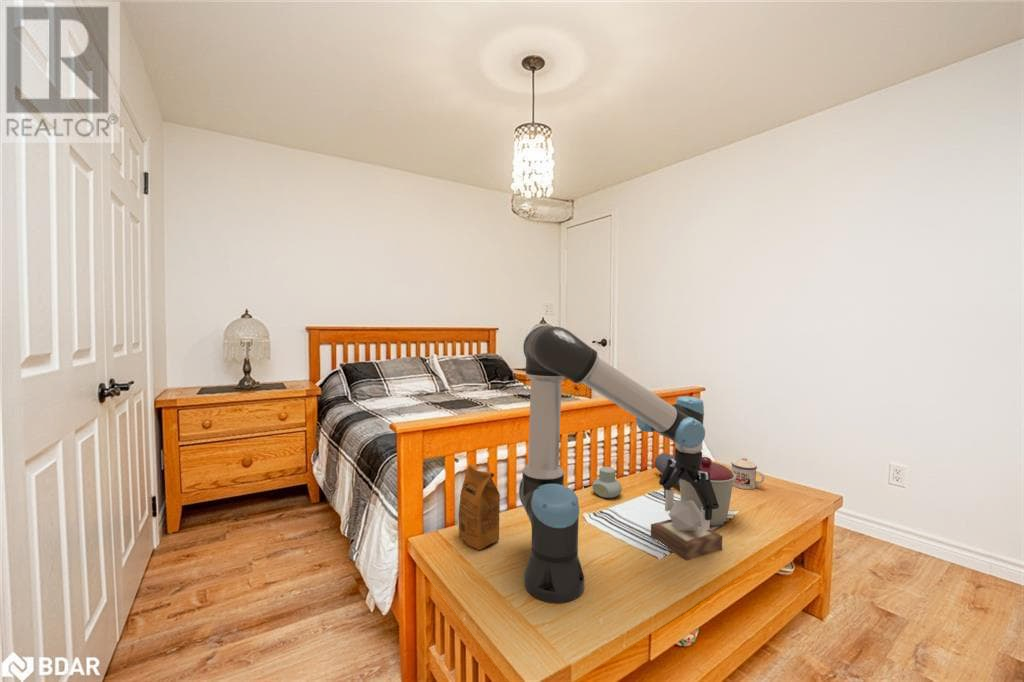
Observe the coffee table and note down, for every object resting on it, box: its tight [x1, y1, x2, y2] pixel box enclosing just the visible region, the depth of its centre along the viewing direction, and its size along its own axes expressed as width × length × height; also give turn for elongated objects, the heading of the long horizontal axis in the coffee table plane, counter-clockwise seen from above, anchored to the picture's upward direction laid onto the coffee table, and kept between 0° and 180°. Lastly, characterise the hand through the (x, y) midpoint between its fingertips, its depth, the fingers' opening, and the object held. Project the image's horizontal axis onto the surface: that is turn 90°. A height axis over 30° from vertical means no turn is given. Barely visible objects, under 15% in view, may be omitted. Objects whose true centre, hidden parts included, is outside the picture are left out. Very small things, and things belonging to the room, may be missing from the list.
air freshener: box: [591, 466, 623, 499], centre depth 162 cm, size 11×8×10 cm
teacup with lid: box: [730, 456, 765, 491], centre depth 171 cm, size 12×9×12 cm
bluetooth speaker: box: [654, 452, 680, 489], centre depth 173 cm, size 23×9×10 cm, turn 10°
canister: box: [679, 456, 736, 527], centre depth 143 cm, size 18×18×21 cm
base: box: [650, 518, 723, 561], centre depth 128 cm, size 14×14×4 cm
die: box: [668, 499, 701, 531], centre depth 128 cm, size 8×9×10 cm
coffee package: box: [457, 463, 501, 551], centre depth 129 cm, size 10×12×22 cm
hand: (686, 519), depth 128 cm, fingers open, 13 cm apart
